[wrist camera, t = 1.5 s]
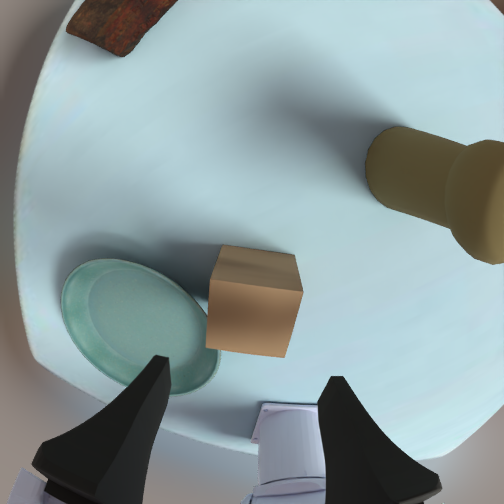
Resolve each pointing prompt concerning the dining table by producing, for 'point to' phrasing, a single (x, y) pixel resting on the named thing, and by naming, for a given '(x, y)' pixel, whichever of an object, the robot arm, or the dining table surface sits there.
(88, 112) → the dining table surface
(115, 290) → the saucer
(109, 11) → the brick
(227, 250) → the walnut block
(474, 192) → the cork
